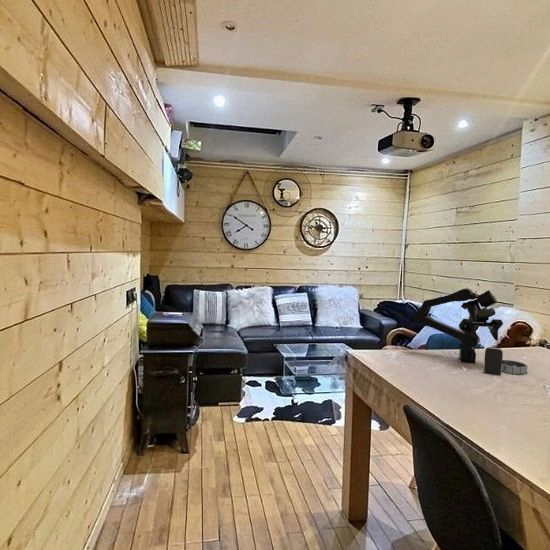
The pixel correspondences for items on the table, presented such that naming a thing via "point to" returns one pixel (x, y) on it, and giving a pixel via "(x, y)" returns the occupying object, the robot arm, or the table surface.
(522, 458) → the table surface
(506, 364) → the grey faceted round container
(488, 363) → the battery charger
